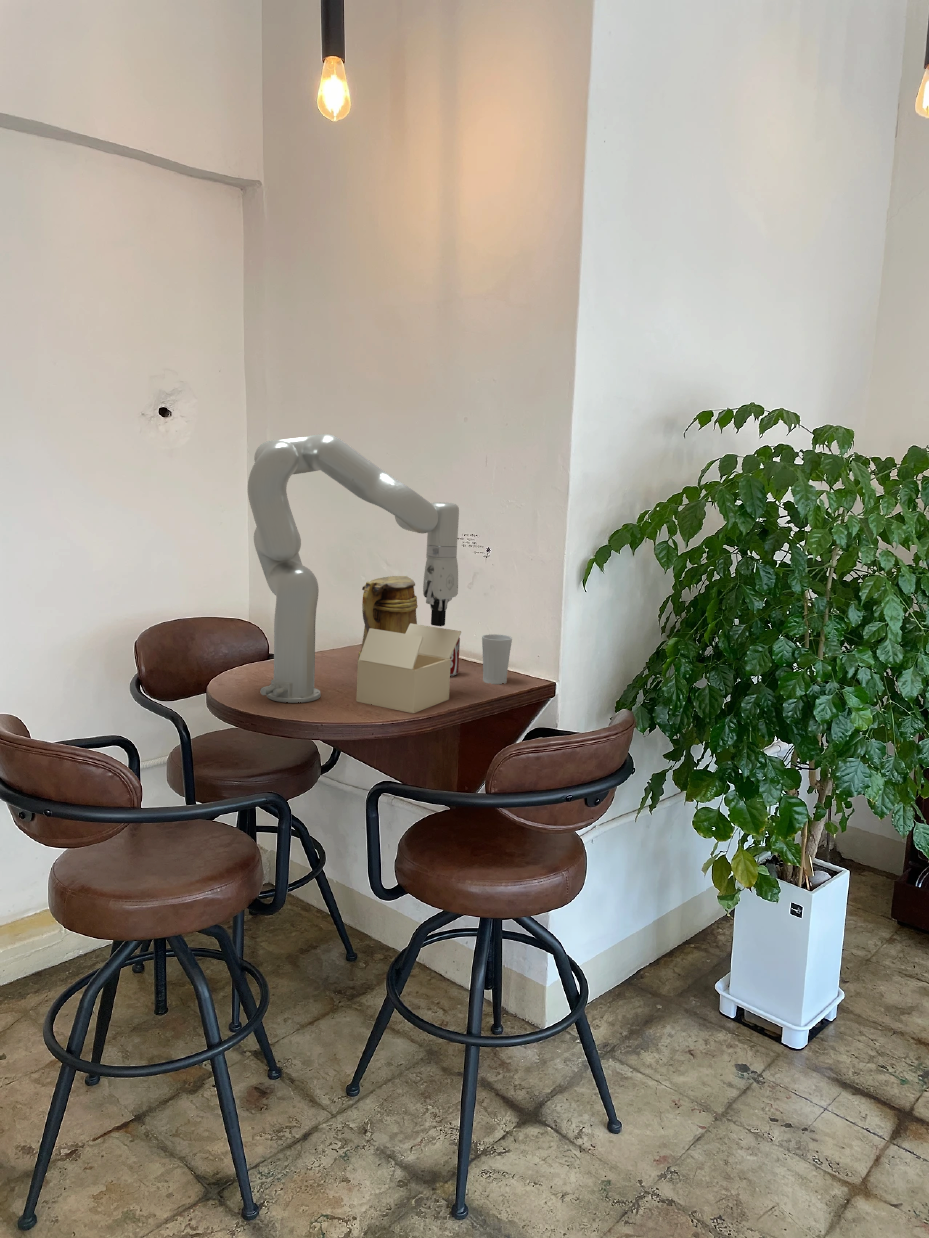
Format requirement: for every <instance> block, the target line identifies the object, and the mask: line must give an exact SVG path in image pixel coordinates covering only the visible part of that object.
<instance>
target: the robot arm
mask: <svg viewBox="0 0 929 1238" xmlns="http://www.w3.org/2000/svg"><path fill="white" fill-rule="evenodd" d="M253 461H254V464H253V465H252V467H251V470H250V473H249V475H248V476H249V477H248V481H247V497H248V502H249V505H250V509H251V512H252V516H253V519H254V522H255V523H254V524H255V525H256V527H255V529H254V532H253V543H254V547H255V551H256V554H257V557H258V559H259V563H260V567H261V568H262V569H261V570H262V571H263V575H264V578H265V580H266V583H267V587H268V588H269V589H270V591H271V592H272V594H273V595H275V596H276V601H275V609H274V610H275V611H274V619H273V620H274V621H273V622H274V623H273V624H274V628H273V633H274V635H273V636H274V637H273V679H271V680H270V684H269V685H266V686H264V687H263V686H262V687H260V694H261V695H262V696H266V698H268V699H269V700H270V701H275V702H279V703H286V702H288V703H290V704H292V703H293V704H296V703H297V704H299V703H300V702H301V703H308V702H312V701H313V702H314V701H316V700H319V698H320V697H321V690H320V689H318V688H315V670H316V669H315V667H316V666H315V665H316V659H315V658H316V619H317V607H318V602H319V601H318V599H319V583H318V580H317V577H316V575H315V573H313V571H312V570H311V569H310V568H308V567H307V566H305V565H303V562H302V560H301V557H300V554H299V552H300V550H301V546H302V539H301V535H300V532H299V529H298V527H297V524H296V522H295V517H294V515H293V513H292V512H293V511H292V509H291V506H290V502H289V498H288V493H287V485H288V482H289V480H290V478H291V477H292V475H299V474H305V473H311V472H318V471H321V472H322V473H324V474H325V475H327V476H328V477H330V478H331V479H332V480H334V481H335V482H337V483H338V484H340V485H341V486H343V487H344V488H345V489H346V490H348V491H349V492H350V493H352V494H353V495H355V497H358V498H360V499H361V500H363V501H365V502H367V503H369V504H372V505H375V506H377V507H379V508H381V509H383V510H384V511H387V512H388V513H390V514H391V515H393V517H394V518H395V522H396V524H397V525H398V526H399V527H400V528H402V529H404V530H406V531H408V532H414V533H417V534H426V535H427V536H426V555H425V556H426V557H425V558H426V562H425V566H424V572H423V573H424V574H423V583H422V584H423V585H422V589H423V590H422V591H423V593H422V594H423V596H424V598H425V603H426V604H427V605H429V606H430V611H431V613H430V615H431V616H430V617H431V618H430V624H431V626H433V627H439V628H442V627H443V626H444V627H445V626H446V613H447V612H446V611H447V608H448V604H449V602H450V601H452V599H453V598H456V597H457V595H458V594H459V564H458V558H457V557H458V556H457V555H458V537H459V519H460V509H459V505H457V504H456V503H452V502H444V501H443V502H440V501H439V502H438V501H434V502H429V501H428V500H427V499H426V498H424V497H423V496H422V495H421V494H420V493H418V492H416V491H415V490H414V489H413V488H411V487H410V486H408V485H406V484H405V483H404V482H402V481H400V480H399V479H398V478H395V477H394V476H392V474H389V473H388V472H387V471H385V470H384V469H382V468H381V467H379V466H377V465H376V464H375V463H373V462H372V461H370V460H369V459H368V458H366V457H365V456H364V455H362V454H361V453H359V452H358V451H357V450H356V449H354V448H353V447H352V446H351V445H350V444H347V443H346V442H345V441H344V440H342V439H341V438H339V437H338V436H335V435H333V434H331V433H330V434H329V433H325V434H324V433H323V434H319V433H318V434H314V435H307V436H300V437H293V438H292V437H291V438H283V439H275V440H274V439H273V440H267V441H265V442H262V443H261V444H260V445H259V446H258V447H257V449H256V450H255V453H254V460H253ZM298 702H299V703H298ZM301 703H300V704H301Z"/></svg>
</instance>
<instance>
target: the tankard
mask: <svg viewBox="0 0 929 1238" xmlns="http://www.w3.org/2000/svg"><path fill="white" fill-rule="evenodd" d="M415 586H416V583H415V581H414V579H412V578H411V577H409V576H408V575H392V576H391V575H390V576H385V577H384V576H383V577H378V578H374V579H371V580H370V581H369V580H368V581H366V583H365V584H364V585H363V586H362V589H361V590H362V591H363V592H362V603H361V605H362V607H361V608H362V612H361V613H362V620H363V623H364V627H363V628H364V629H363V634H362V642H361V643H362V644H361V647H360V648H361V650H360V651H358V657H357V661H356V662H357V665H358V660H359V657H360V654H361V651H362V649H363V646H364V643H365V640H366V637H367V634H368V631H369V628H372V629H378V630H384V631H391V632H397V633H403V634H405V633H406V631H407V629H408V627H409V625H410V623H411V624H418V621H417V618H418V617H417V609H418V597H417V595H416V593H415Z"/></svg>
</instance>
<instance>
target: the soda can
mask: <svg viewBox="0 0 929 1238" xmlns="http://www.w3.org/2000/svg"><path fill="white" fill-rule="evenodd" d="M460 641H461V638H460V636H459V639H458V641H457V643H456V646H455V648H454V650H453V653H452V655H451V657H450V659H451V667H450V676H451V677H454V676H455V675H458V674H459V667H460V666H459V663H460V647H461V646H460V643H461V642H460Z"/></svg>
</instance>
